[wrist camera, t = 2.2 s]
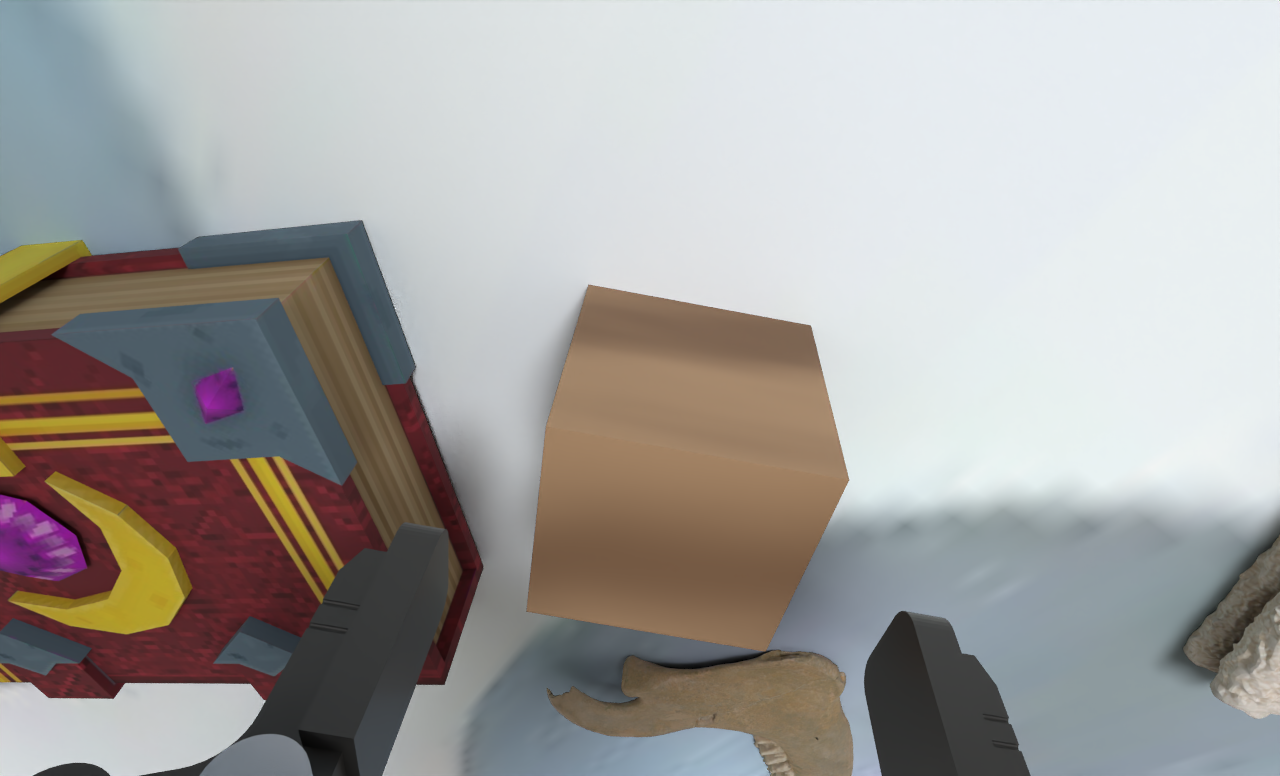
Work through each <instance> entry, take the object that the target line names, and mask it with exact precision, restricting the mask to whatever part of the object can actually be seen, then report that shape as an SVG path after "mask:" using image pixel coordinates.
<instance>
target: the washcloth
mask: <svg viewBox="0 0 1280 776" xmlns="http://www.w3.org/2000/svg"><path fill="white" fill-rule="evenodd" d="M1239 576H1240V579H1239V581H1238V582H1237V583H1236V584H1235V585H1234V587H1233V589H1232V590H1231V592H1230V593H1229V594H1228V595H1227V596H1226V598H1225V599H1224V600H1223V601H1221V602H1220V603H1219V605H1218V607H1217V610H1216V611H1215V612H1214V613H1212V614H1210V615H1209V616H1207V617H1206V619H1205V620H1204V622H1203V623H1202V625H1201V626H1200V627H1199V628H1198V629H1197V630H1196V631H1194V632H1193V633H1192V635H1191V636H1190V637H1189V639H1188V641H1187V643H1186V645H1185V646H1184V647H1183V651H1184V653H1185V654H1186V655H1187V657H1188V658H1189V660H1191V661H1192V662H1193V663H1195V664H1196V665H1197V666H1200V667H1204V668H1207V669H1209V670H1210V671H1213V672H1216V673H1218V674H1217V675H1216V677H1215V678H1214V680H1213V681H1212V682H1211V683H1210V688H1211V690H1212V693H1213V695H1214V696H1215V697H1217V698H1218V699H1219V700H1221V701H1222V702H1224V703H1226V704H1228V705H1230V706H1232V707H1234V708H1236V709H1239V710H1243V711H1244V712H1245V713H1246V714H1248V715H1249V716H1251V717H1252V718H1254V719H1261V718H1264V717H1267V716H1268V715H1270V714H1277V715H1280V535H1279V537H1278V538H1277V539H1276V541H1275V542H1274V543H1273V545H1272V547H1271V548H1270V549H1268V550H1267V551H1265V552H1263V553H1262V554H1260V555H1259V556H1258V557H1257V560H1256V561H1255V563H1254V564H1253V565H1252V566H1251V567H1250V568H1249V569H1248V570H1246V571H1245V572H1244V573H1242V574H1240V575H1239Z"/></svg>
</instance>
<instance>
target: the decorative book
mask: <svg viewBox="0 0 1280 776" xmlns="http://www.w3.org/2000/svg"><path fill="white" fill-rule="evenodd" d="M414 369H415V365H414V362H413V359H412V357H411V354H410V351H409V348H408V346H407V343H406V340H405V337H404V335H403V332H402V329H401V327H400V324H399V321H398V318H397V316H396V313H395V310H394V308H393V305H392V302H391V299H390V297H389V294H388V291H387V289H386V286H385V283H384V280H383V278H382V275H381V272H380V270H379V267H378V264H377V261H376V259H375V256H374V253H373V251H372V248H371V245H370V242H369V240H368V237H367V234H366V231H365V229H364V226H363V223H362V221H361V220H360V221H351V222H341V223H331V224H321V225H311V226H301V227H291V228H282V229H272V230H262V231H252V232H242V233H232V234H223V235H213V236H203V237H197V238H195V239H194V240H192V241H190V242H189V243H187V244H185V245H184V246H182V247H180V248H172V249H161V250H150V251H139V252H128V253H117V254H106V255H95V256H92V255H91V253H90V251H89V250H88V248H87V247H86V245H85V244H84V242H83V241H82V240H76V241H66V242H55V243H45V244H34V245H23V246H20V247H18V248H16V249H14V250H12V251H10V252H8V253H6V254H4V255H2V256H0V682H31V683H32V684H33V685H34V686H36V687H37V688H38V689H39V690H40V691H41V692H42V693H44V694H45V695H46V696H47V697H48V698H108V699H114V697H115V696H116V695H117V693H118V692H119V691H120V689H121V688H122V687H123V685H124V684H125V683H226V684H251V685H252V686H253V687H254V688H255V690H256V691H257V692H258V693H259V694H260V696H261V697H262V698H263V699H264V700H267V698H268V696H269V695H270V693H271V691H272V689H273V687H274V686H275V684H276V682H277V680H278V678H279V677H280V675H281V673H282V671H283V670H284V668H285V666H286V664H287V662H288V661H289V659H290V657H291V655H292V653H293V652H294V650H295V648H296V646H297V644H298V643H299V641H300V639H301V637H302V635H303V634H304V632H305V630H306V628H309V625H310V621H311V619H312V618H313V616H314V614H315V612H316V610H317V609H318V607H319V605H320V604H322V602H323V598H324V596H325V594H326V593H327V591H328V589H329V587H330V585H331V584H332V582H333V580H334V578H335V576H336V575H337V573H338V571H339V570H340V569H341V568H342V567H343V566H345V565H346V564H347V563H348V562H349V561H350V560H352V559H353V558H354V557H355V556H356V555H357V554H358V553H360V552H361V551H362V550H363V549H364V548H367V549H373V550H379V551H384V552H387V550H388V548H389V546H390V544H391V542H392V540H393V538H394V536H395V534H396V532H397V531H398V529H399V527H400V526H401V525H402V524H403V523H404V522H408V523H413V524H419V525H425V526H430V527H436V528H442V529H447V531H448V592H447V597H446V602H445V606H444V610H443V613H442V617H441V619H440V622H439V625H438V628H437V630H436V633H435V636H434V638H433V641H432V644H431V646H430V649H429V651H428V654H427V657H426V659H425V662H424V665H423V667H422V670H421V673H420V675H419V678H418V681H417V683H416V685H445V682H446V679H447V676H448V673H449V670H450V667H451V664H452V661H453V658H454V655H455V652H456V648H457V645H458V642H459V639H460V636H461V633H462V630H463V627H464V624H465V621H466V618H467V615H468V612H469V609H470V606H471V603H472V600H473V597H474V594H475V591H476V588H477V585H478V582H479V579H480V576H481V573H482V570H483V567H484V566H483V564H482V561H481V559H480V556H479V554H478V551H477V549H476V546H475V543H474V541H473V538H472V536H471V533H470V531H469V528H468V525H467V523H466V520H465V518H464V515H463V513H462V510H461V507H460V505H459V502H458V500H457V497H456V495H455V492H454V489H453V487H452V484H451V482H450V479H449V477H448V474H447V471H446V469H445V466H444V464H443V461H442V459H441V456H440V453H439V451H438V448H437V446H436V443H435V441H434V438H433V435H432V433H431V430H430V428H429V425H428V423H427V420H426V417H425V415H424V412H423V410H422V407H421V405H420V402H419V399H418V397H417V394H416V392H415V389H414V387H413V384H412V381H411V379H410V376H411V374H412V372H413V371H414Z"/></svg>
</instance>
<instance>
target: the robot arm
mask: <svg viewBox="0 0 1280 776" xmlns="http://www.w3.org/2000/svg"><path fill="white" fill-rule="evenodd" d="M447 592H448V531H447V529H442V528H436V527H430V526H425V525H419V524H413V523H408V522H404V523H403V524H402V525H401V526H400V527H399V529H398V531H397V532H396V534H395V536H394V538H393V540H392V542H391V544H390V546H389V548H388V550H387V552H384V551H379V550H373V549H367V548H364V549H363V550H362V551H361V552H360V553H358V554H357V555H356V556H355V557H354V558H353V559H352V560H350V561H349V562H348V563H347V564H346V565H345V566H343V567H342V568H341V569H340V570H339V571H338V573H337V575H336V576H335V578H334V580H333V582H332V584H331V585H330V587H329V589H328V591H327V593H326V594H325V596H324V598H323V602H322V604H320V605H319V607H318V609H317V610H316V612H315V614H314V616H313V618H312V619H311V621H310V625H309V628H306V630H305V632H304V634H303V635H302V637H301V639H300V641H299V643H298V644H297V646H296V648H295V650H294V652H293V653H292V655H291V657H290V659H289V661H288V662H287V664H286V666H285V668H284V670H283V671H282V673H281V675H280V677H279V678H278V680H277V682H276V684H275V686H274V687H273V689H272V691H271V693H270V695H269V696H268V698H267V700H266V702H265V704H264V705H263V707H262V709H261V711H260V712H259V714H258V716H257V717H256V719H255V721H254V722H253V724H252V725H251V726H250V727H249V728H248V730H247V731H246V732H245V733H244V734H243V735H242V736H241V737H240V738H239V739H238V740H237V741H236V742H235V743H233V744H232V745H231V746H229V747H228V748H227V749H225V750H224V751H222V752H221V753H219V754H217V755H216V756H214V757H212V758H210V759H208V760H206V761H204V762H201V763H198V764H195V765H193V766H189V767H185V768H181V769H175V770H170V771H164V772H158V773H152V774H146V775H141V776H382V774H383V771H384V769H385V766H386V763H387V761H388V758H389V755H390V753H391V750H392V747H393V745H394V742H395V739H396V737H397V734H398V731H399V729H400V726H401V723H402V721H403V718H404V715H405V713H406V710H407V707H408V705H409V702H410V699H411V697H412V694H413V691H414V689H415V686H416V683H417V681H418V678H419V675H420V673H421V670H422V667H423V665H424V662H425V659H426V657H427V654H428V651H429V649H430V646H431V644H432V641H433V638H434V636H435V633H436V630H437V628H438V625H439V622H440V619H441V617H442V613H443V610H444V606H445V602H446V597H447ZM864 688H865V696H866V701H867V705H868V710H869V715H870V720H871V725H872V730H873V735H874V740H875V745H876V749H877V754H878V759H879V764H880V769H881V774H882V776H1030V773H1029V770H1028V768H1027V765H1026V762H1025V760H1024V757H1023V754H1022V752H1021V751H1019V750H1018V745H1019V744H1018V741H1017V739H1016V736H1015V733H1014V731H1013V728H1012V725H1011V724H1009V723H1008V718H1009V717H1008V715H1007V712H1006V709H1005V707H1004V704H1003V701H1002V699H1001V696H1000V693H999V691H998V688H997V686H996V684H995V683H994V682H993V680H992V679H991V677H990V676H989V675H988V673H987V672H986V671H985V669H984V668H983V667H982V665H981V664H980V663H979V661H978V660H977V658H976V657H975V656H973V655H968V654H962V653H961V650H960V647H959V644H958V641H957V638H956V636H955V633H954V630H953V628H952V626H951V624H950V623H949V621H948V620H946V619H944V618H941V617H935V616H929V615H923V614H918V613H912V612H906V611H901V612H899V613H898V614H897V615H896V616H895V617H894V619H893V621H892V622H891V624H890V625H889V627H888V628H887V630H886V632H885V633H884V635H883V636H882V638H881V639H880V641H879V643H878V644H877V646H876V647H875V649H874V650H873V652H872V653H871V655H870V657H869V659H868V661H867V664H866V669H865V676H864ZM33 776H110V775H109V774H108V773H107V772H106V771H105V770H103V769H102V768H100V767H98V766H96V765H92V764H87V763H70V764H63V765H59V766H56V767H52V768H49V769H47V770H44V771H42V772H39V773H37V774H35V775H33Z"/></svg>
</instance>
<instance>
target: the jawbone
mask: <svg viewBox="0 0 1280 776" xmlns="http://www.w3.org/2000/svg"><path fill="white" fill-rule="evenodd" d="M781 659H783V660H781ZM838 668H839V667H837V665H835V664H834V663H832V661H830V660H829V659H827V658H825V657H824V656H822V655H819V654H816V653H812V652H809V653H808V652H801V651H799V652H785V651H781V650H775V651H770V652H768V653H765V654H763V655H761V656H759V657H757V658H754V659H750V660H746V661H741V662H737V663H730V664H721V665H715V666H711V667H706V668H699V669H674V668H666V667H663V666H660V665H657V664H654V663H651V662H648V661H644V660H641V659H639V658H637V657H635V656H633V655H631V656H628V657H627V658H626V660H625V662H624V666H623V674H622V684H621V688H622V692H623V693H624V694H625V695H626V696H628V697H638V698H636V699H634V700H632V701H629V702H624V703H614V702H613V703H611V702H603V701H598V700H596V699H593V698H591V697H589V696H588V695H586V694H585V693H583V692H581V691H579V690H578V689H576V688H575V687H574V686H572V687H571V690H570V692H565V693H563V694H562V695H557V696H554V695H553V694H552V692H551V691H550V689H548V688H547V693H548V697H549V700H550V702H551V704H552V705H553V706H554V708H555V709H556V710H557V711H558V712H559V713H560V714H561V715H563V716H564V717H565V718H566V719H568V720H569V721H571V722H572V723H574V724H576V725H578V726H581V727H583V728H585V729H587V730H591V731H593V732H597V733H600V734H604V735H607V736H619V737H652V736H658V735H663V734H668V733H671V732H676V731H679V730H684V729H690V728H694V727H706V728H720V729H727V730H735V731H741V732H745V733H749V734H753V735H754V736H753V737H754V739H755V743H754V745H755V746H756V747H757V748H759V750H760V752H759V753H760V754H761V756H763V757H764V759H763V761H764V762H765V764H767V765H768V768H767V770H769V771H770V773H771V774H770V776H851V775H852V769H853V742H852V735H851V730H850V725H849V722H848V720H847V718H846V717H845V715H844V713H843V710H842V706H841V703H840V697H839V696H840V695H841V694H842V692H843V690H844V688H845V684H846V675H845V673H844V672H839V670H838ZM815 737H817V738H818V740H817V739H816V738H815Z"/></svg>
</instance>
